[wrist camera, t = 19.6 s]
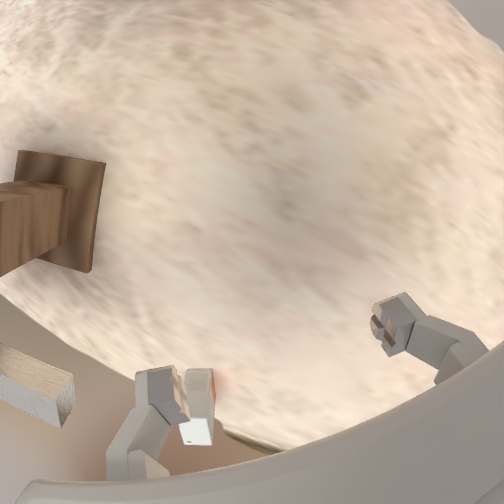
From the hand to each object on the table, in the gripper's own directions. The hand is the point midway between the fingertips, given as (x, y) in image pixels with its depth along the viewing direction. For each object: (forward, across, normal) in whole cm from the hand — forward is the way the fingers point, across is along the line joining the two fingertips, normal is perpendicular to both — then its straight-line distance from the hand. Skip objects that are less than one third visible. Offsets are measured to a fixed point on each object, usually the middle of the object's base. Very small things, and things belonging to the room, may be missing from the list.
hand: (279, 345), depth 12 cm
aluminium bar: (+9, +26, +2) cm, 27 cm away
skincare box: (+23, +9, +34) cm, 43 cm away
